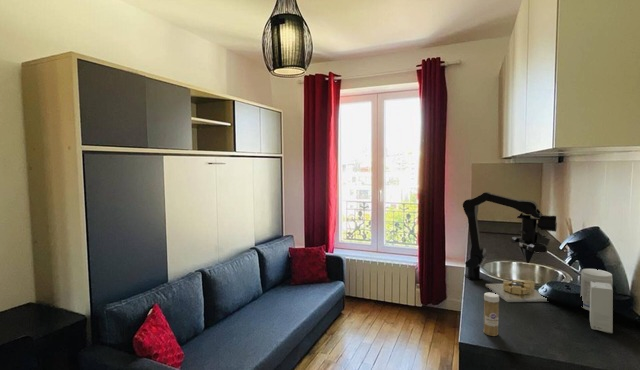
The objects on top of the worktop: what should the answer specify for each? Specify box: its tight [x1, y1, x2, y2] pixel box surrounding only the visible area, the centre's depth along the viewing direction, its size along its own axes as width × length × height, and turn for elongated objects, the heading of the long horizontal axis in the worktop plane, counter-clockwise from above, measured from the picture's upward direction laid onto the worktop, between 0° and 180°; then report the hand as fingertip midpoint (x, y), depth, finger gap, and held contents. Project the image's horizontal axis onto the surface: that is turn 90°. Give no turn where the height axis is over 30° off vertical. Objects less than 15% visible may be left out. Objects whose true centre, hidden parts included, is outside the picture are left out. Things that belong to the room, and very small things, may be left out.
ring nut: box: [502, 279, 536, 295], centre depth 149 cm, size 14×10×3 cm
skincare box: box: [589, 281, 614, 334], centre depth 118 cm, size 8×6×15 cm
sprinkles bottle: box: [482, 292, 500, 337], centre depth 114 cm, size 5×5×13 cm
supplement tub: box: [580, 268, 614, 312], centre depth 132 cm, size 10×10×15 cm
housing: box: [485, 281, 548, 303], centre depth 149 cm, size 18×18×4 cm
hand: (527, 262), depth 155 cm, fingers closed
